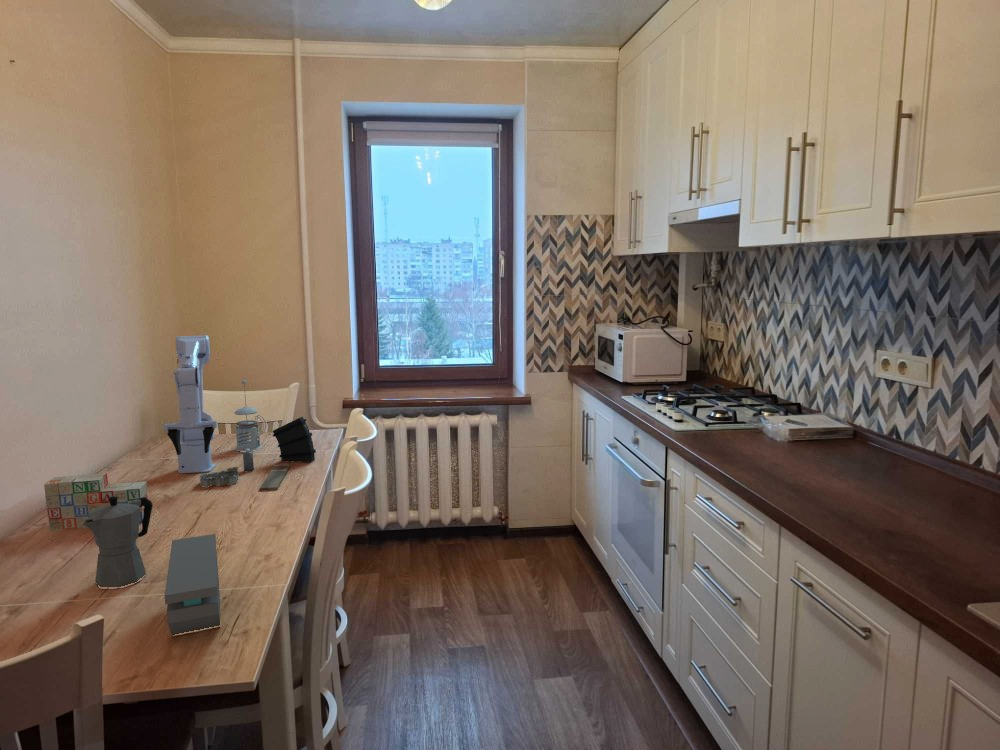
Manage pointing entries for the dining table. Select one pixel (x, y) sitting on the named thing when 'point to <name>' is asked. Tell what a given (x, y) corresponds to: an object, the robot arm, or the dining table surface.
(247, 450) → the awl peg
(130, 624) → the dining table surface
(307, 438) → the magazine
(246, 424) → the french press
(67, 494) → the stack of blocks
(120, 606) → the dining table surface
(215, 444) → the dining table surface
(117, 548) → the coffeepot
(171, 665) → the dining table surface
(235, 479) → the egg carton
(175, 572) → the grey slotted box
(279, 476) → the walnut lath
